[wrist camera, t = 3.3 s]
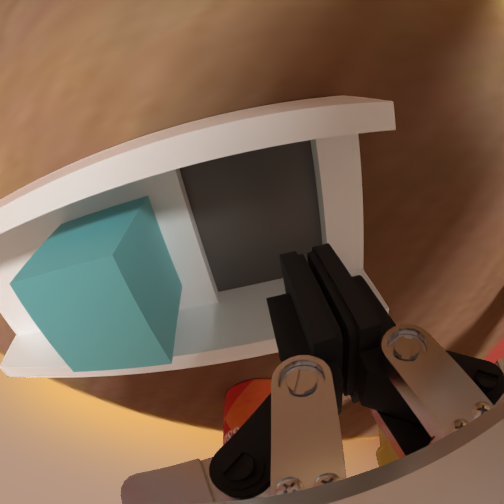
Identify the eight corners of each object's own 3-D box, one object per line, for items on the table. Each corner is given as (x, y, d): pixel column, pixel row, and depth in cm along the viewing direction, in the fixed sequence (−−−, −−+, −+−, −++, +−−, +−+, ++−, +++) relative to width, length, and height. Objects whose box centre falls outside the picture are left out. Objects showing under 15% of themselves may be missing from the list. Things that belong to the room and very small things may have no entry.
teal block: (61, 224, 12) (9, 283, 8) (148, 195, 12) (112, 255, 8) (101, 302, 15) (73, 371, 11) (182, 286, 15) (171, 363, 11)
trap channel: (-36, 221, 12) (-75, 256, 8) (342, 95, 12) (393, 101, 8) (29, 333, 17) (7, 376, 14) (355, 271, 17) (387, 323, 13)
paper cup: (285, 357, 20) (326, 547, 8) (313, 400, 24) (348, 539, 12) (192, 387, 21) (194, 557, 9) (236, 423, 25) (249, 555, 13)
